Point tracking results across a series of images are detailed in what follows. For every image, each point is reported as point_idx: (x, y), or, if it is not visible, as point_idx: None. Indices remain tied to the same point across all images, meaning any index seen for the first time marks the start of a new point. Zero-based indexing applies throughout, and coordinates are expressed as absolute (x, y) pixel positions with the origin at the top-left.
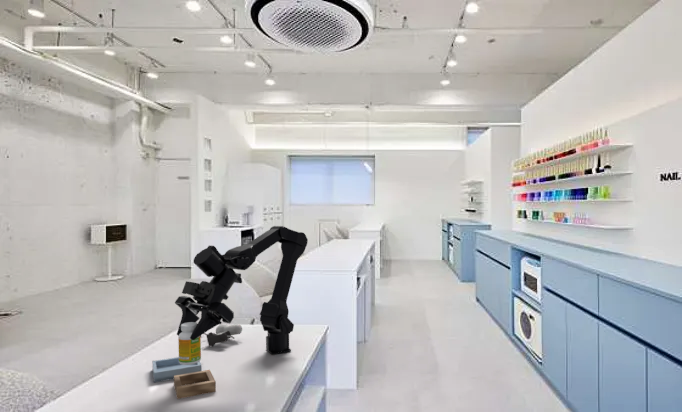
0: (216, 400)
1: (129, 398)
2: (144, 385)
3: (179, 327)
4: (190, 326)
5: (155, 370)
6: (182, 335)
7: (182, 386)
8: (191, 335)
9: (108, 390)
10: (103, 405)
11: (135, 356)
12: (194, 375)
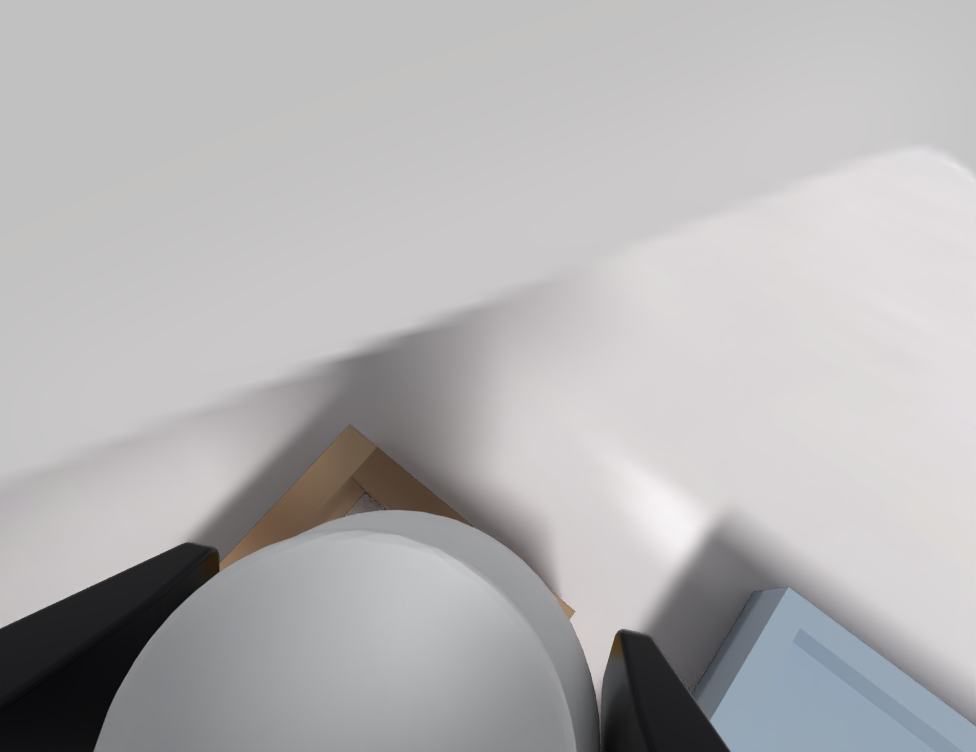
0: (87, 538)
1: (656, 340)
2: (766, 521)
3: (693, 737)
4: (168, 619)
5: (835, 639)
6: (389, 525)
7: (339, 469)
8: (179, 565)
9: (893, 366)
10: (701, 232)
11: None
12: None
